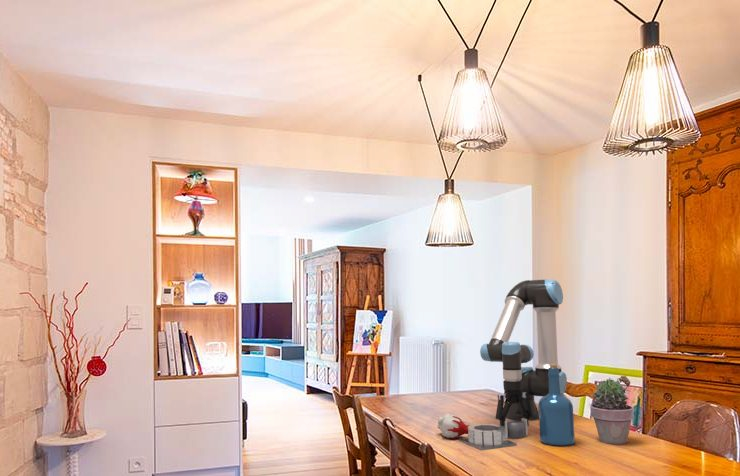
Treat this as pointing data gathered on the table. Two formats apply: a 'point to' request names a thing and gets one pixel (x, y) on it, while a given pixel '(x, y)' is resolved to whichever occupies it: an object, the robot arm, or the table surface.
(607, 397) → the potted plant
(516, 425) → the cap
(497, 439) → the square flange collar
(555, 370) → the wine bottle
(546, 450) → the table surface
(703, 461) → the table surface
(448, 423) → the candle
